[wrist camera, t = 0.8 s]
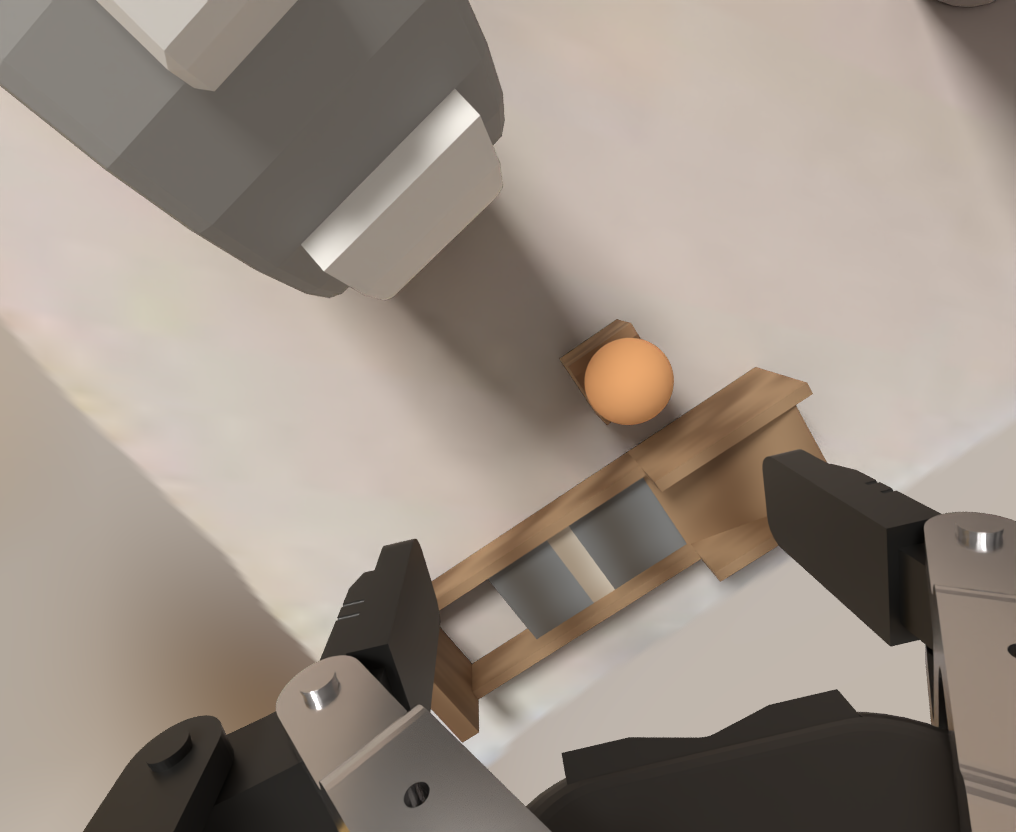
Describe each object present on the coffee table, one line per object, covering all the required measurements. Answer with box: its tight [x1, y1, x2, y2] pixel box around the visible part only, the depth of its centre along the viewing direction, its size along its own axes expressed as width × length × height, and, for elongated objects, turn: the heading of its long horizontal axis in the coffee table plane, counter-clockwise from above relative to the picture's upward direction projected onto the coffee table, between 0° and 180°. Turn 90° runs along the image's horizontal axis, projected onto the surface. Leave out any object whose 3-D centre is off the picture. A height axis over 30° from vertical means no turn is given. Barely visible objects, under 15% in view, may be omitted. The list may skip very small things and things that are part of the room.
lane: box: [431, 367, 827, 743], centre depth 31 cm, size 27×7×5 cm, turn 125°
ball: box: [585, 338, 674, 425], centre depth 26 cm, size 4×4×4 cm
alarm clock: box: [0, 0, 505, 300], centre depth 17 cm, size 18×8×20 cm, turn 42°
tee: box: [560, 319, 640, 425], centre depth 30 cm, size 4×4×3 cm
